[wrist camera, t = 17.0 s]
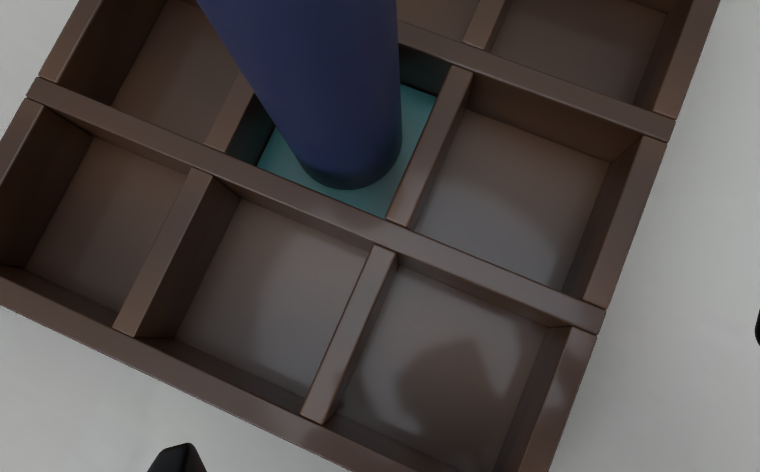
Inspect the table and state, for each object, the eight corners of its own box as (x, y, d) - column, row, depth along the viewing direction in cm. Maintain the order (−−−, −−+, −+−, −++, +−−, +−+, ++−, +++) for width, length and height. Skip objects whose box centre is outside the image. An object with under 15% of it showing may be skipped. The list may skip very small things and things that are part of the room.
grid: (499, 513, 19) (519, 551, 15) (5, 281, 21) (-74, 270, 18) (687, 10, 22) (740, -52, 18) (232, -144, 24) (202, -225, 21)
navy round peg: (424, 147, 21) (446, -171, 8) (335, 212, 20) (206, -4, 7) (359, 66, 21) (281, -345, 8) (272, 128, 21) (57, -199, 8)
